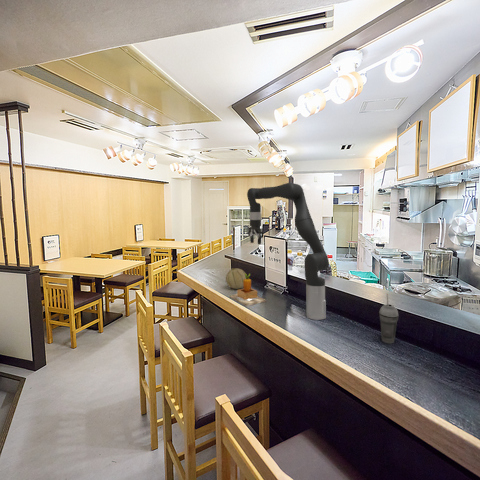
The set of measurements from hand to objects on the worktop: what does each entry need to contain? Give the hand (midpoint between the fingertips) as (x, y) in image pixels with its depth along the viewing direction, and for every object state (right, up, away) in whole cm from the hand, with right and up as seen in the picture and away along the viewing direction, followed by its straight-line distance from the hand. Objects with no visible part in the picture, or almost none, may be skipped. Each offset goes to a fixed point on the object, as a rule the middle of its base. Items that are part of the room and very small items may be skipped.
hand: (255, 243), depth 185 cm
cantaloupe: (-13, -33, +15) cm, 38 cm away
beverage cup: (+52, -40, -68) cm, 94 cm away
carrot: (-6, -33, -10) cm, 35 cm away
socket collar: (-6, -34, -10) cm, 36 cm away
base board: (-6, -35, -10) cm, 37 cm away
